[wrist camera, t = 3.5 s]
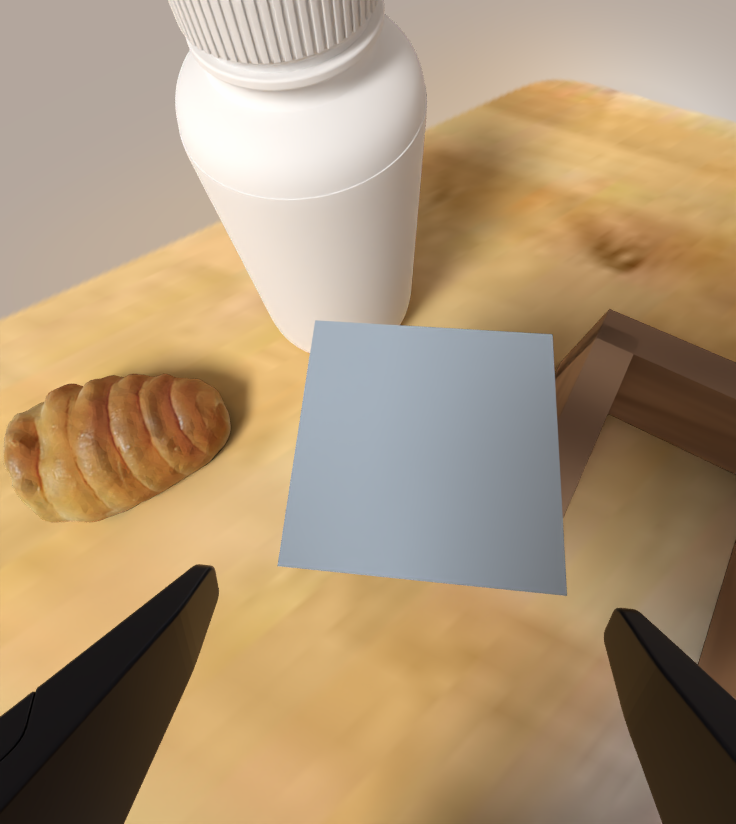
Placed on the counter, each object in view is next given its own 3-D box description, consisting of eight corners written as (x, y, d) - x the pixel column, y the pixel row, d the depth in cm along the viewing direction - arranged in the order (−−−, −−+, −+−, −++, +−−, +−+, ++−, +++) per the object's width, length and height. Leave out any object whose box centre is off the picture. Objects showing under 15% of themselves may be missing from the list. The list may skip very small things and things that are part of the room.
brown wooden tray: (731, 702, 16) (871, 763, 12) (469, 549, 19) (498, 548, 14) (795, 470, 19) (929, 444, 14) (560, 362, 21) (609, 309, 17)
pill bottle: (241, 307, 23) (18, -67, 9) (337, 221, 25) (273, -208, 11) (342, 392, 21) (256, 84, 7) (439, 292, 23) (522, -115, 9)
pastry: (221, 361, 23) (189, 326, 19) (248, 477, 21) (219, 462, 17) (52, 414, 22) (-14, 389, 18) (62, 539, 20) (-9, 537, 16)
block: (447, 566, 19) (567, 596, 6) (348, 556, 19) (277, 565, 7) (450, 467, 20) (552, 334, 8) (358, 460, 20) (315, 320, 8)
